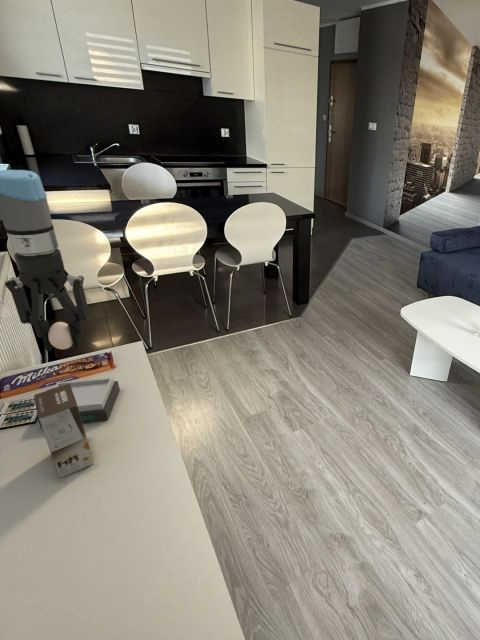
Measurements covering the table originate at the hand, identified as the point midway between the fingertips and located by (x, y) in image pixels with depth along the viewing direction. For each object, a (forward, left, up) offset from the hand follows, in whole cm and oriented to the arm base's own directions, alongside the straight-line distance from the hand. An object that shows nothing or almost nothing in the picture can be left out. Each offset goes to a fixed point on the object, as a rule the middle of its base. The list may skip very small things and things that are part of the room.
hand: (64, 347), depth 91 cm
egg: (0, 0, -1) cm, 1 cm away
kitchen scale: (-1, +2, -19) cm, 19 cm away
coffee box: (+2, -15, -19) cm, 25 cm away
